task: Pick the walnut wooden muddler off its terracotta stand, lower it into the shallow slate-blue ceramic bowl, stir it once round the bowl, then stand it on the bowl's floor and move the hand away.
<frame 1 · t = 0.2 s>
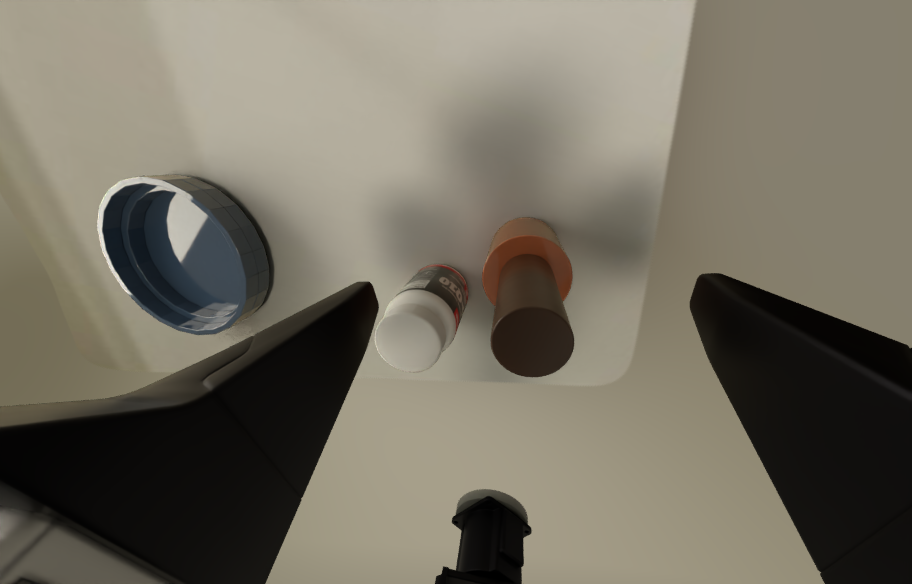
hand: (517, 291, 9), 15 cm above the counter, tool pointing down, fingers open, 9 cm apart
muddler: (528, 304, 15), point 9 cm above the counter, touching stand
stand: (524, 251, 24), on the counter
bowl: (206, 252, 29), on the counter
pill bottle: (440, 289, 26), on the counter
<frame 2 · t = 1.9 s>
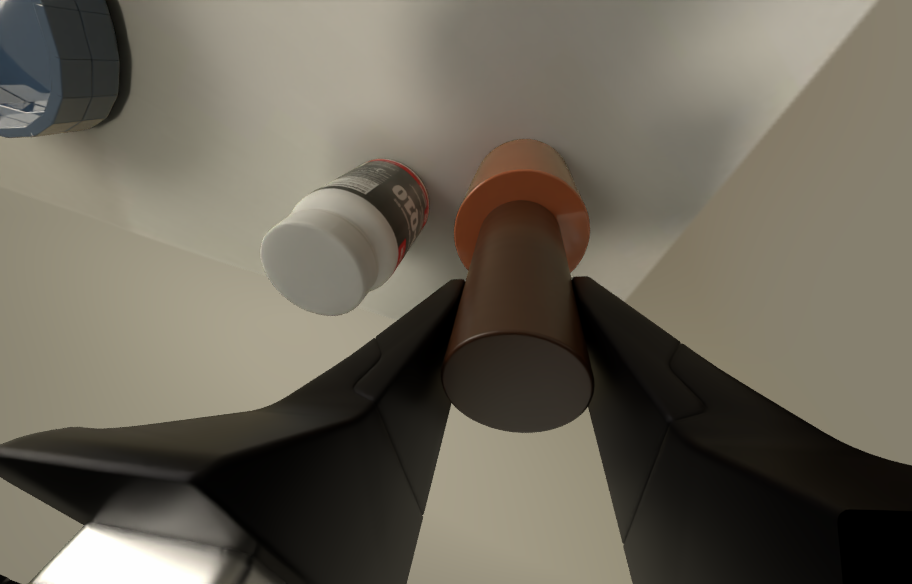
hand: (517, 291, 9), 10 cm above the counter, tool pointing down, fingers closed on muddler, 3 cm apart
muddler: (517, 290, 9), point 10 cm above the counter, touching gripper, stand
stand: (520, 190, 17), on the counter
pill bottle: (392, 199, 19), on the counter
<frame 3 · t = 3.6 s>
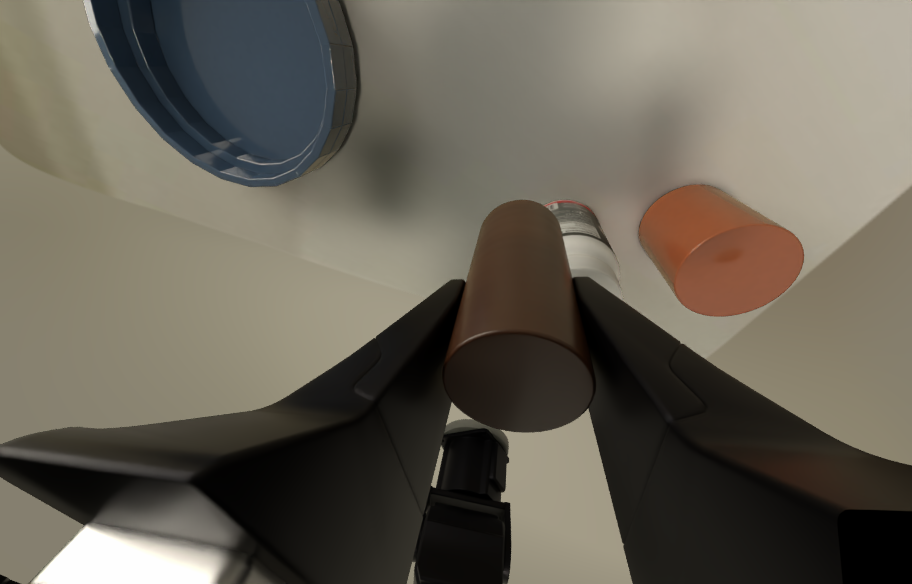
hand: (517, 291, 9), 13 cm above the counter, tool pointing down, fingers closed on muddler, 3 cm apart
muddler: (518, 290, 9), point 13 cm above the counter, touching gripper
stand: (683, 225, 20), on the counter
bowl: (254, 58, 19), on the counter
pill bottle: (559, 231, 22), on the counter
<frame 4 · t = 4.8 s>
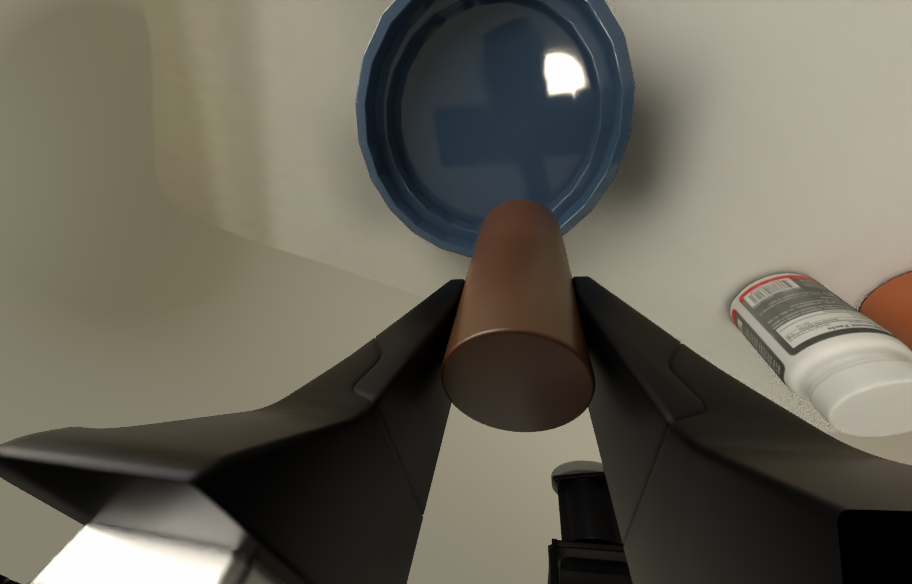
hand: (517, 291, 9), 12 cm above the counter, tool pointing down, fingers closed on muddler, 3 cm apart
muddler: (517, 289, 9), point 12 cm above the counter, touching gripper
bowl: (490, 129, 18), on the counter
pill bottle: (769, 300, 21), on the counter
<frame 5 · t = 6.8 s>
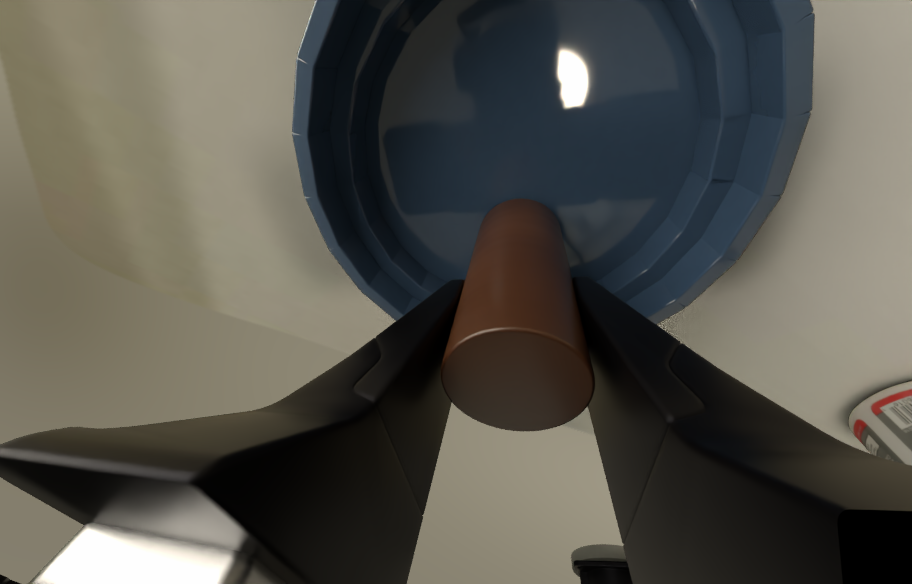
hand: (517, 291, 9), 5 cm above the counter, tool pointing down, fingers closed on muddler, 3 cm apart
muddler: (517, 289, 9), point 5 cm above the counter, touching gripper
bowl: (515, 168, 12), on the counter
pill bottle: (909, 405, 15), on the counter
when the fingers open (4 cm above the counter, at t = 7.9 s): muddler stays where it is, resting on bowl.
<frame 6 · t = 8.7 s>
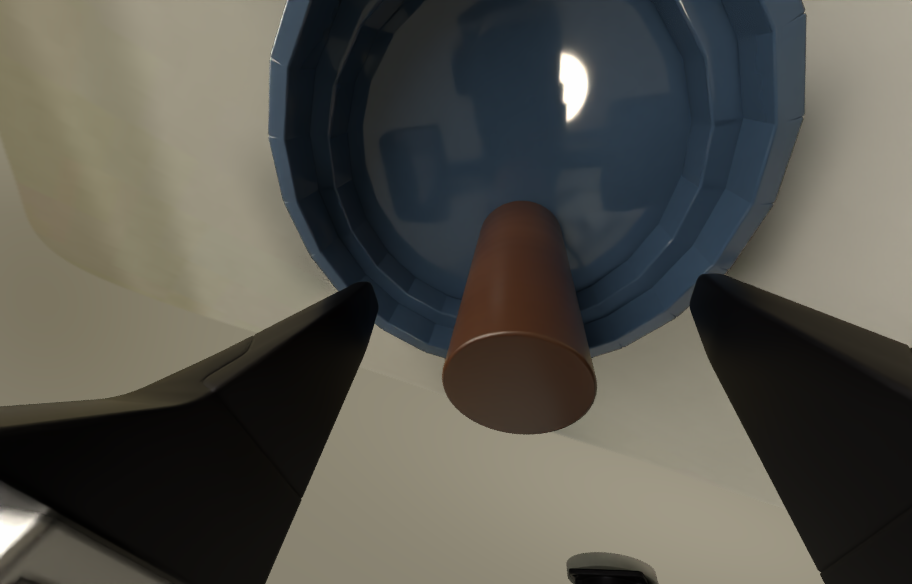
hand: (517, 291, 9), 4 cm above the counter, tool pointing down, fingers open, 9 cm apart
muddler: (518, 291, 9), point 4 cm above the counter, touching bowl
bowl: (503, 172, 11), on the counter
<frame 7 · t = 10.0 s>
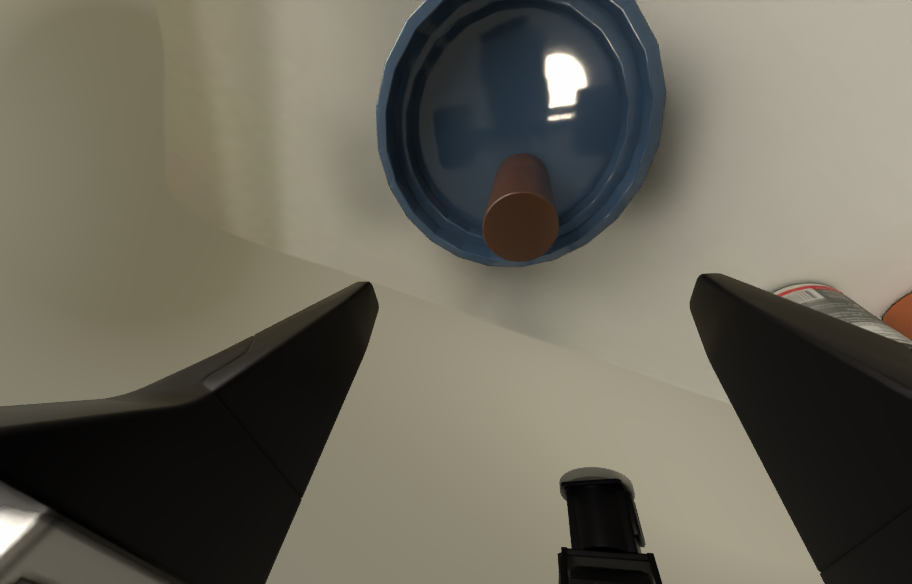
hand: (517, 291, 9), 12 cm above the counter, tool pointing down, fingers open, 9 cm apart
muddler: (520, 200, 16), point 4 cm above the counter, touching bowl
bowl: (510, 135, 18), on the counter
pill bottle: (789, 310, 21), on the counter
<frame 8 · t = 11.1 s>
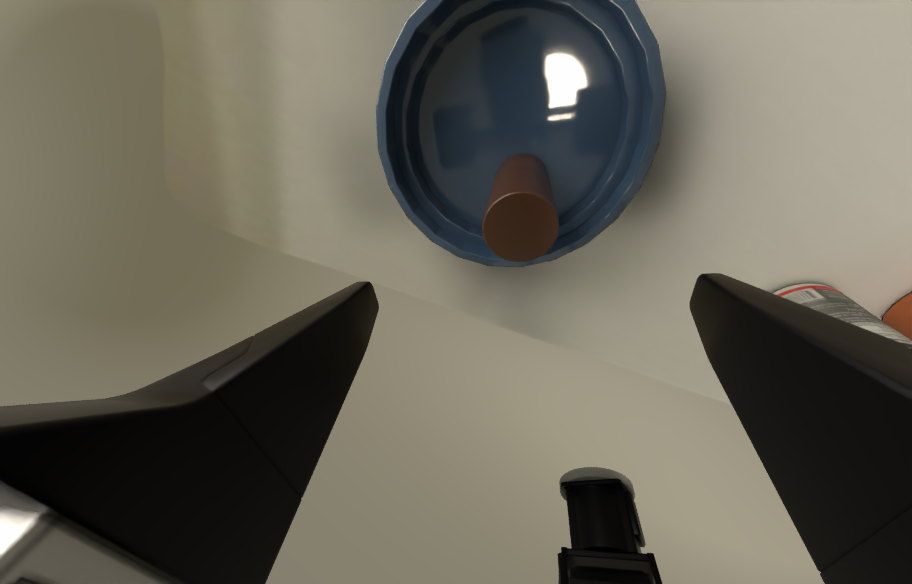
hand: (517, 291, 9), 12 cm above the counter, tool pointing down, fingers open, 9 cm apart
muddler: (520, 200, 16), point 4 cm above the counter, touching bowl
bowl: (510, 135, 18), on the counter
pill bottle: (789, 310, 21), on the counter
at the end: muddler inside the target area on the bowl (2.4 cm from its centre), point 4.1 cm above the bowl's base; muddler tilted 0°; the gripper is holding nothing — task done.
